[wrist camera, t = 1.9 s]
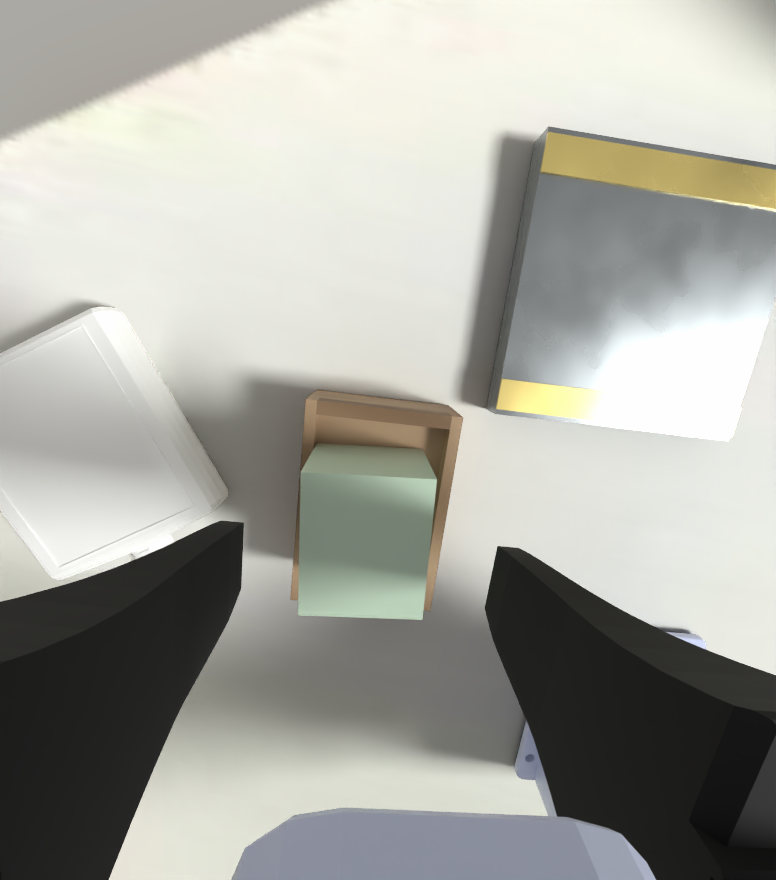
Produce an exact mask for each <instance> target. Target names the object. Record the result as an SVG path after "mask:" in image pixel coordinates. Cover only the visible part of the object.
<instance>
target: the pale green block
mask: <svg viewBox="0 0 776 880" xmlns="http://www.w3.org/2000/svg"><path fill="white" fill-rule="evenodd" d="M436 484H437V478H436V476H435V474H434V472H433V470H432V468H431V466H430V464H429V461H428V459H427V457H426V455H425V453H424V451H423V449H412V448H394V447H377V446H359V445H341V444H323V443H317V444H316V446H315V448H314V449H313V451H312V453H311V455H310V456H309V458H308V460H307V462H306V464H305V465H304V467H303V469H302V471H301V479H300V532H299V585H298V615H300V616H328V617H356V618H384V619H412V620H423V610H424V601H425V591H426V581H427V572H428V562H429V552H430V542H431V533H432V523H433V513H434V504H435V494H436Z"/></svg>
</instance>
